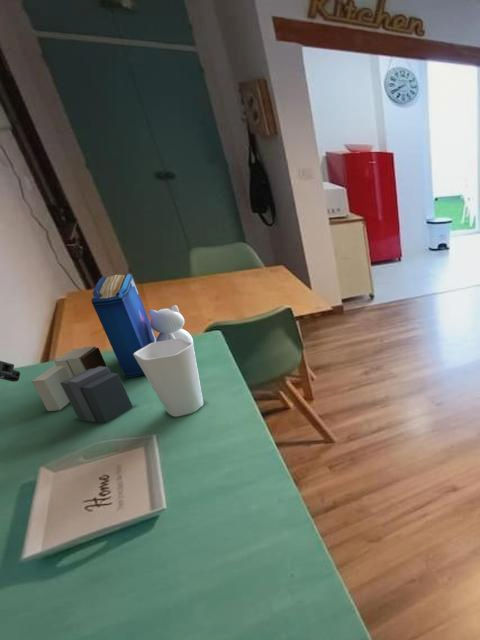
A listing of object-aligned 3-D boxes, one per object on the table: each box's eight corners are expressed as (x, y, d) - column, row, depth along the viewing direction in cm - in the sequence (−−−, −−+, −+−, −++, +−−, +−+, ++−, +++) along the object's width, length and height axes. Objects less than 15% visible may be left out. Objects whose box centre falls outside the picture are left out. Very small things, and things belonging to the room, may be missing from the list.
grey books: (77, 419, 100) (57, 380, 96) (108, 403, 107) (90, 365, 102) (105, 423, 99) (85, 383, 95) (134, 406, 106) (117, 368, 101)
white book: (47, 411, 103) (31, 380, 99) (67, 395, 109) (52, 366, 105) (60, 410, 104) (44, 379, 100) (79, 394, 110) (64, 365, 106)
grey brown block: (68, 390, 111) (53, 359, 107) (85, 376, 118) (72, 347, 114) (96, 387, 113) (82, 357, 109) (112, 374, 119) (99, 346, 115)
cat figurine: (193, 342, 138) (178, 300, 132) (199, 356, 130) (184, 312, 123) (158, 350, 133) (142, 306, 126) (163, 365, 124) (145, 319, 118)
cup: (155, 425, 99) (129, 363, 92) (161, 403, 107) (137, 344, 100) (211, 412, 105) (190, 352, 97) (213, 392, 112) (194, 335, 105)
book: (155, 375, 119) (122, 292, 108) (122, 382, 116) (85, 297, 105) (159, 346, 135) (131, 271, 124) (131, 351, 132) (99, 275, 121)
